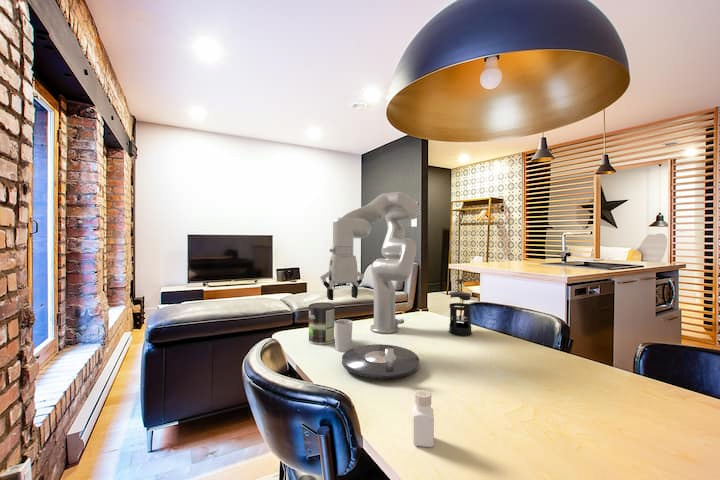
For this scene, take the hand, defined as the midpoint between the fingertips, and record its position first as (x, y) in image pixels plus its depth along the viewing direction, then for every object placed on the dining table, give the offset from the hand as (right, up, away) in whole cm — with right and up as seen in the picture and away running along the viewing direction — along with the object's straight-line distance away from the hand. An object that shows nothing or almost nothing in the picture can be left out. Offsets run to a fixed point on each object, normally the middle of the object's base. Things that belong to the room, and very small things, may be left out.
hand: (342, 298), depth 115 cm
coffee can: (-9, -19, +10) cm, 23 cm away
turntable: (+13, -19, -16) cm, 27 cm away
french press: (+50, -19, +21) cm, 57 cm away
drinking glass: (0, -19, 0) cm, 19 cm away
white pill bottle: (+19, -19, -52) cm, 59 cm away
